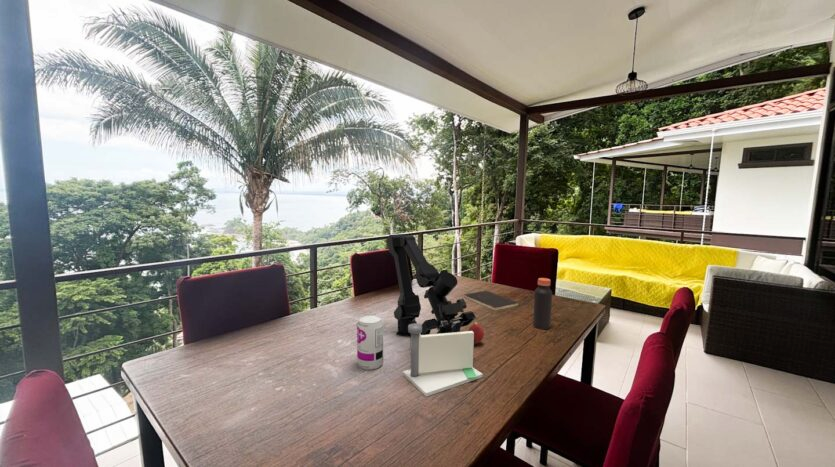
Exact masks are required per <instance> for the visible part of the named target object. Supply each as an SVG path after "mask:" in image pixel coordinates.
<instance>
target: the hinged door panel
mask: <svg viewBox="0 0 835 467" xmlns="http://www.w3.org/2000/svg"><path fill="white" fill-rule="evenodd" d="M408 332H409V333H411V337H410V369H411V376H412V377H417V376H418V375H419V373H427V372H436V371H445V370H454V369H463V368H472V367H473V368H474V345H475V343H474V332H473V331H468V330H466V331H460V332H453V333H441V334H437V333H433V334H431V333H430V334H429V335H421V334H420V333H421V332H422V324H420V323H418V322H417V323H413V324H409V325H408Z"/></svg>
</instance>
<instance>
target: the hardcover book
mask: <svg viewBox="0 0 835 467" xmlns="http://www.w3.org/2000/svg"><path fill="white" fill-rule="evenodd" d="M464 299H466V300H470V301H472V302H474V303H475V304H479V305H480V306H483V307H485V308H488V309H490V310H492V311H500V310H503V309H509V308H513V307H517V306H518V307H519V306H520V302H519V301H516V300H513V299H510V298H508V297H505V296H504V295H503V296H502V295H500V294H498V293H497V294H496V293H494V292H491V291H489V290H482V291H476V292H472V293H466V294H465V293H464Z"/></svg>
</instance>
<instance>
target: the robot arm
mask: <svg viewBox="0 0 835 467" xmlns="http://www.w3.org/2000/svg"><path fill="white" fill-rule="evenodd" d="M416 240H417V239H416V237H415V235H406V234H405V233H399V234H397V233H396V234H389V236H388V237H387V238H386V242H385V243H386V246H387V248H388V253H390V254H391V255H392V257H393V259H394V264H395V270H396V275H397V276H396V277H397V281H398V283H397V284H398V289H399V297H398V299H397V307H396V308H395V309H394V311H393V316H394V317H393V318H395V319H396V320H397V331H396V333H395V335H397V336H404V337H410V338H411V333H409V332H408V325H409V324H413V323H417V324H418V322H417V321H416V318H419V317H420V314H421V311H422V310H421V309H422V305H421V302H420V296H419V295H418V294H416V293H415V292H414V290H413V285H412V278H411V274H410V268H409V262H408V258H409V260H410V263H412V265H413V267H414V269H415V274H414V278H415V279H416V283H417V285H418V286H419V287H420V288H422V289H426V288H428V289H426V290H425V292H424V295H423V298H424V299H427V300H428V302H429V304H430V307H431V311H430V313H431V314H432V315H434V316H435V318H430V319H427V320H424V321H423V323H422V324H421V325H422V332H421V333H419V335H430V334H431V331H432V330H436V329H437V332H436V334H441V333H453V332H461V328H462V327H467V326H469V325H470V324H471V323H472V322H473V321H475V319H476V318H477V317H476V314H475V312H474V311H471V310H469V311H465V312H464V309H467V307H468V305H467V301H465V298H459V299H457V300H456V302H452V301H451V300H448V299H447V298H448V297H447V296H449V295H450V294H451V292H452V291H453V290H454V289H455V288H456V286H457V285H458V279H457V277H456V276H455V275H454V274H453V273H452V272H451V273H450V272H449V271H448V269H441V270H440V271H438V270H437V268H436V267H435V266H434V265H433V264H431V263H430V262H428V260H427V259H426V257H425V255H424V253H423V252H422V250H421V248H420V246H419V245H418V243H417V241H416ZM407 255H408V257H407ZM459 313H461V314H459ZM458 315H459V316H458ZM457 316H458V317H457Z"/></svg>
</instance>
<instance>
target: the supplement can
mask: <svg viewBox="0 0 835 467" xmlns="http://www.w3.org/2000/svg"><path fill="white" fill-rule="evenodd" d="M356 346H357V347H356V353H357V355H356V358H357V362H356V363H357V365H358V367H360V368H361V369H362V370H366V371H367V370H368V371H371V370H376V369H378V368H380V367H381V366H382V365H383V364H384V321H383V319H382V317H381V316H379V315H375V314H368V315H362V316H360V317H359V318H358V321H357V323H356Z"/></svg>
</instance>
